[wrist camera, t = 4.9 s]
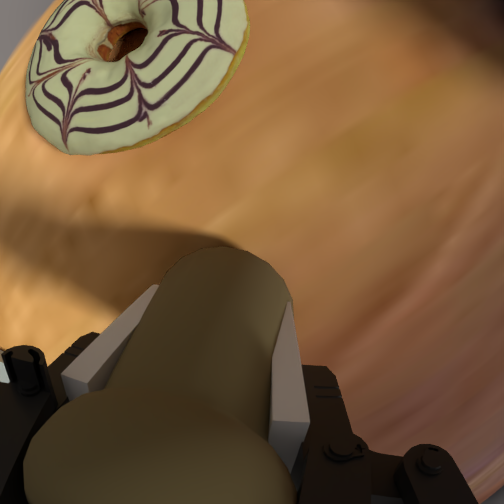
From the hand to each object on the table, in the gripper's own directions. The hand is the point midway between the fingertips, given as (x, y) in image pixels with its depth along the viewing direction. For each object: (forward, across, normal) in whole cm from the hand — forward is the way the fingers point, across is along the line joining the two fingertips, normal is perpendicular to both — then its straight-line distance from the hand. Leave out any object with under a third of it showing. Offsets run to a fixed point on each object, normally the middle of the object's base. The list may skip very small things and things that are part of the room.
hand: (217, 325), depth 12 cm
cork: (+1, 0, 0) cm, 1 cm away
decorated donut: (+3, -6, +12) cm, 13 cm away
